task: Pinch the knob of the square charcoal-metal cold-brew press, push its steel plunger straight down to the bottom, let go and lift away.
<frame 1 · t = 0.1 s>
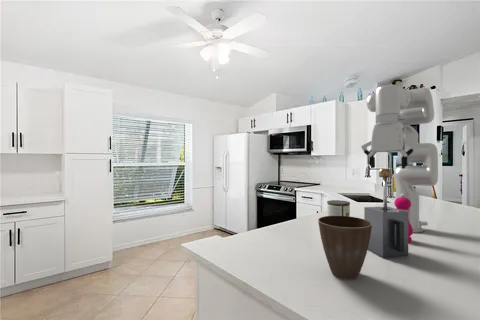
hand: (387, 168, 89), 31 cm above the counter, tool pointing down, fingers open, 9 cm apart
pepper mill: (402, 241, 105), on the counter
plant pot: (344, 274, 74), on the counter
press: (385, 252, 92), on the counter
plunger: (385, 192, 92), point 22 cm above the counter, slide at 0.0 cm
coffee can: (338, 231, 120), on the counter
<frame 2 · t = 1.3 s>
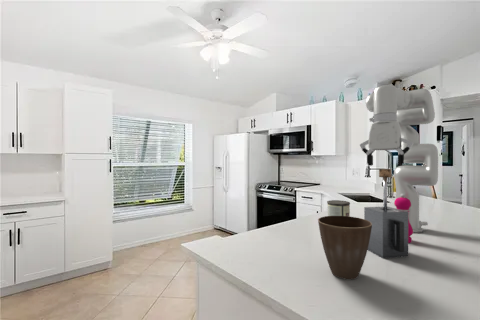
hand: (384, 165, 92), 32 cm above the counter, tool pointing down, fingers open, 9 cm apart
nothing on the counter moved.
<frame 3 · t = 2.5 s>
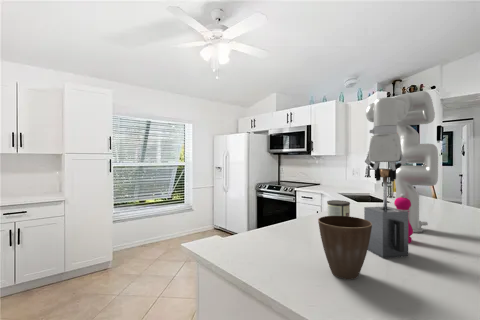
hand: (385, 180, 92), 27 cm above the counter, tool pointing down, fingers closed on plunger, 4 cm apart
plunger: (385, 192, 92), point 22 cm above the counter, slide at 0.0 cm, touching gripper
everything else where it was.
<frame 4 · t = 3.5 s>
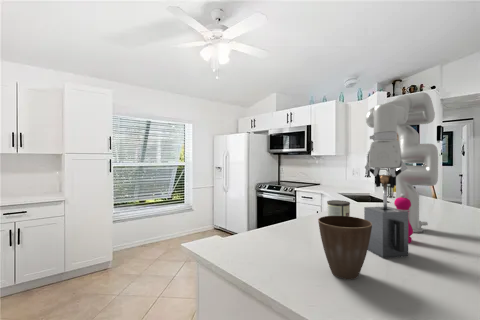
hand: (385, 186, 92), 24 cm above the counter, tool pointing down, fingers closed on plunger, 4 cm apart
plunger: (385, 198, 92), point 20 cm above the counter, slide at 2.3 cm, touching gripper
everything else where it was.
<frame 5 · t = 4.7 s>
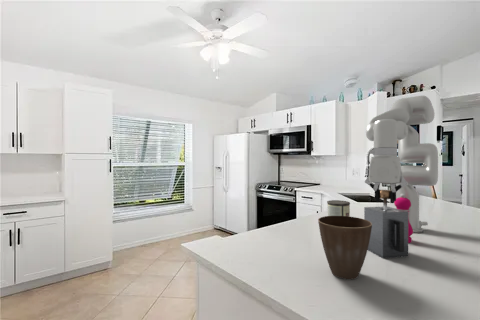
hand: (385, 201, 92), 19 cm above the counter, tool pointing down, fingers closed on plunger, 4 cm apart
plunger: (385, 213, 92), point 14 cm above the counter, slide at 7.9 cm, touching gripper
everything else where it was.
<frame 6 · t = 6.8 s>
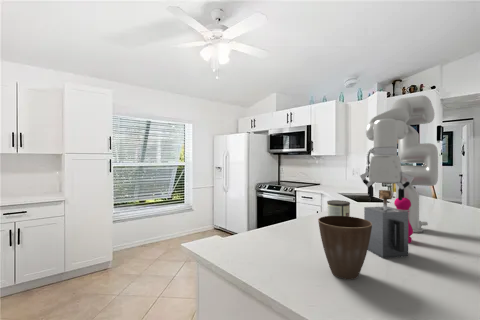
hand: (385, 198, 92), 20 cm above the counter, tool pointing down, fingers open, 9 cm apart
plunger: (385, 213, 92), point 14 cm above the counter, slide at 8.0 cm
everything else where it was.
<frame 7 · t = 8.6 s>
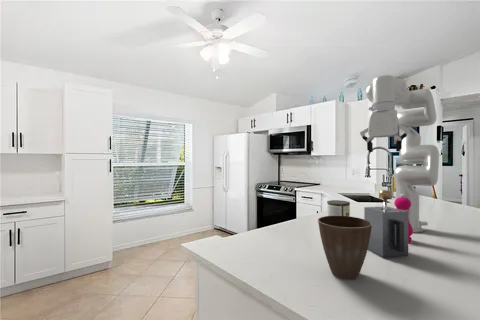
hand: (383, 151, 97), 38 cm above the counter, tool pointing down, fingers open, 9 cm apart
nothing on the counter moved.
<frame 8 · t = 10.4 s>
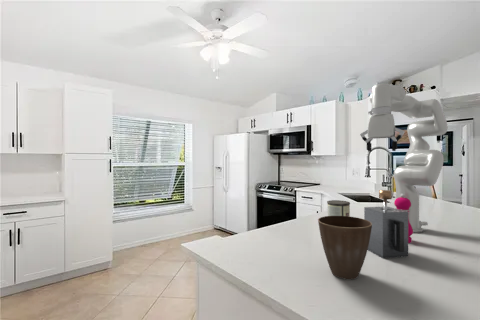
hand: (381, 151, 109), 38 cm above the counter, tool pointing down, fingers open, 9 cm apart
nothing on the counter moved.
at the end: plunger slide at 8.0 cm; the gripper is holding nothing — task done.
